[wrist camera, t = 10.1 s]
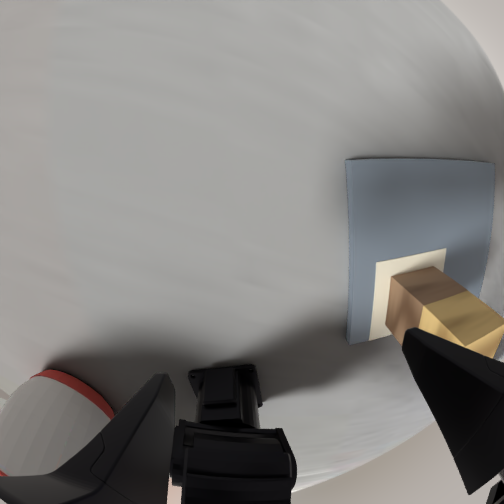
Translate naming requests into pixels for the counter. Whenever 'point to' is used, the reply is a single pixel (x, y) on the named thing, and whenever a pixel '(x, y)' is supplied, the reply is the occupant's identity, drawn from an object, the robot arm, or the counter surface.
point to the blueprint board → (413, 229)
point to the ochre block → (464, 323)
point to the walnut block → (416, 297)
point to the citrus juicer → (48, 423)
